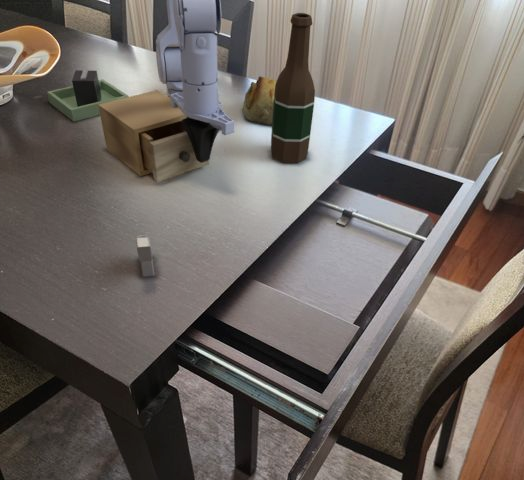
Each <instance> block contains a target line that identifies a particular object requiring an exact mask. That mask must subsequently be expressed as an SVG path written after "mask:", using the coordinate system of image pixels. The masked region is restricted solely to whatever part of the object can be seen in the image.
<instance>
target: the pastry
mask: <svg viewBox="0 0 524 480" xmlns="http://www.w3.org/2000/svg"><path fill="white" fill-rule="evenodd" d="M276 82H277V79H275V78H270V77H265V76H261V75H260V76H258V78H257V80H256V82H254V81H252V82H251V83H250V86H249V87H248V89H247V91H246V92H245V95H244V101H243V104H242V108H241V109H242V112H243V115H244V116H245V117H246V119H247V120H248V121H250V122H254V123H258V124H263V125H270V126H272V119H273V104H274V92H275V85H276Z"/></svg>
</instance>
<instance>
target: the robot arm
mask: <svg viewBox="0 0 524 480" xmlns="http://www.w3.org/2000/svg"><path fill="white" fill-rule="evenodd" d="M165 1H166V13H167V21H168V24H167V26H165V28H164V29H163V30H161V31H160V32H159V33H158V34H157V36H156V39H155V49H156V50H155V55H156V56H155V57H156V66H157V74H158V79H159V82H161V83H162V84H163V85H166V94H167V95H166V96H167V97H169V98H170V102H171V106H172V107H173V108H176V107H178V108H180V110H181V111H182V112H183V113H184V115H186V116H187V118H186V119H183V120H182V126H183V127H184V129H185V130H186V132H187V134H188V136H189V138H190V141H191V143H192V146H193V150H194V153H195V156H196V159H197V161H199V162H201V163H202V162H205V161H207V160H209V161H210V158H211V154H212V150H213V146H214V142H215V140H216V138H217V136H218V133H219V131H221V134H222V135H224V136H229V135H231V134H234V133H235V120H234V119H232V118H231V117H229V116H228V114H226V112H225V111H224V110H223V109H222V108H223V103H222V102H221V101H219V77H218V76H219V73H218V71H219V70H218V69H219V68H218V67H219V66H218V35H219V34H221V28H222V17H223V15H222V14H223V13H222V4H221V0H165ZM217 34H218V35H217ZM171 45H172V46H171ZM177 45H178V46H177Z"/></svg>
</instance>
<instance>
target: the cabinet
mask: <svg viewBox="0 0 524 480" xmlns="http://www.w3.org/2000/svg"><path fill="white" fill-rule="evenodd" d="M98 107H99V112H100V115H99V116H100V122H101V127H102V132H103V137H104V142H105V147H106V151H108V152H109V153H110V154H112V155H113V156H114V157H115V158H117V159H118V160H119V161H120V162H122V163H123V164H124V165H126V166H127V167H128V168H129V169H130V170H132V171H133V172H134V173H135V174H137V175H138V176H140V177H142V176H146V175H149V174H153V173H152V172H150V171H149V170H148V169H146V168H145V167H144V166H143V163H142V155H141V148H140V141H139V134H138V133H141V132H144V131H147V130H151V129H154V128H158V127H161V126H165V125H168V124H172V123H175V122H179V121H182V120H183V119H186V118H187V116H186V115H184V113H183V112H182V111H181V110H180V108H178V107H176V108H173V107H172V106H171V102H170V98H169V97H167V95H166V94H164V93H163V92H161V91H159V90H157V89H155V90H151V91H147V92H143V93H138V94H135V95H131V96H129V97H126V98H122V99H118V100H114V101H110V102H106V103H102V104H98Z"/></svg>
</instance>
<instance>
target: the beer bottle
mask: <svg viewBox="0 0 524 480" xmlns="http://www.w3.org/2000/svg"><path fill="white" fill-rule="evenodd" d="M290 23H291V29H290V36H289V44H288V50H287V51H288V52H287V57H286V61H285V66H284V67H283V69H282V70H281V72H280V73H279V75H278V77H277V79H276V80H277V82H276V85H275V92H274V104H273V119H272V125H271V135H270V152H271V158H272V159H273V160H275V161H278V162H280V163H282V164H299V163H301V162H303V161H305V160H306V159H307V158H308V153H309V147H310V139H311V131H312V123H313V115H314V108H315V99H316V97H315V96H316V89H315V83H314V80H313V77H312V74H311V72H310V70H309V68H310V67H309V57H310V56H309V54H310V41H311V40H310V39H311V37H310V36H311V26H312V25H313V17H312V15H310V14H308V13H305V12H297V13H294V14H291V18H290Z"/></svg>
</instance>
